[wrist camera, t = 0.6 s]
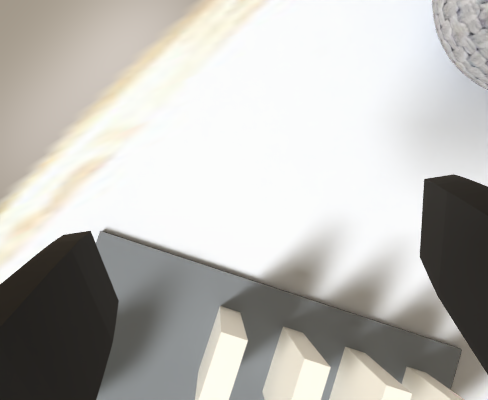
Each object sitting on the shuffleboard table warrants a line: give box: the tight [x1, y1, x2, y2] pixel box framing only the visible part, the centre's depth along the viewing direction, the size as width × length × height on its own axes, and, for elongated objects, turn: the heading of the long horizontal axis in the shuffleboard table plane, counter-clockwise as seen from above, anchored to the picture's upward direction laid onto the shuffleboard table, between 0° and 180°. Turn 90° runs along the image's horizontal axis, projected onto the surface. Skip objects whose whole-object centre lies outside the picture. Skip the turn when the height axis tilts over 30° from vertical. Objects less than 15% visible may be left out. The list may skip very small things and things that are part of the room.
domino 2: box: [262, 327, 331, 400], centre depth 29 cm, size 2×5×8 cm, turn 162°
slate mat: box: [96, 231, 462, 400], centre depth 33 cm, size 14×29×1 cm, turn 72°
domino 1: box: [195, 306, 248, 400], centre depth 28 cm, size 2×5×8 cm, turn 162°
